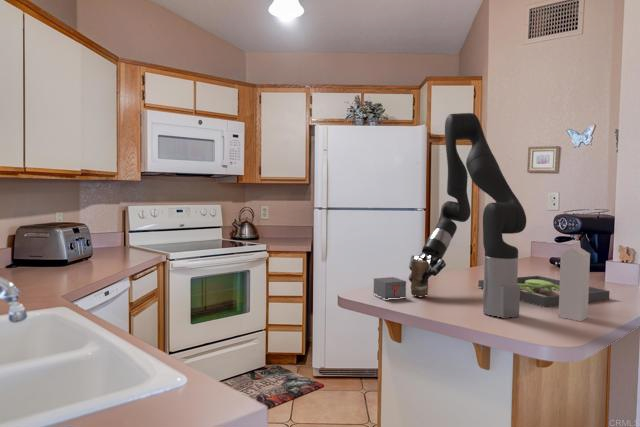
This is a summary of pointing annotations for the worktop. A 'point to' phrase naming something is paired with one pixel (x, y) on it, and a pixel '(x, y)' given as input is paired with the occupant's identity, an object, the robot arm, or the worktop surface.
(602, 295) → the dark gray tray
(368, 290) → the worktop surface
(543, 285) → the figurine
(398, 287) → the block
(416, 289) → the column
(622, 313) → the worktop surface
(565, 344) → the worktop surface
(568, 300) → the milk
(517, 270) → the robot arm
